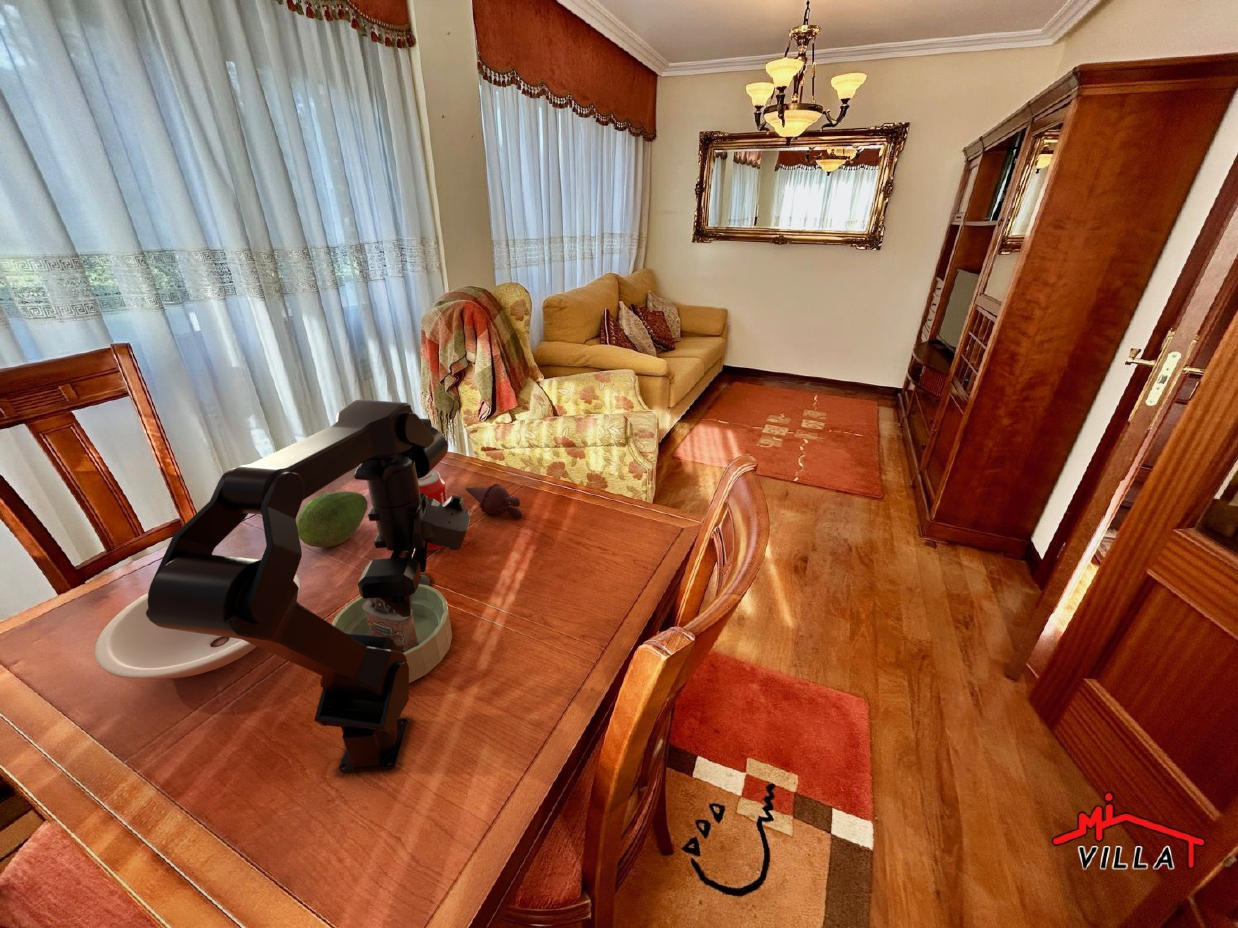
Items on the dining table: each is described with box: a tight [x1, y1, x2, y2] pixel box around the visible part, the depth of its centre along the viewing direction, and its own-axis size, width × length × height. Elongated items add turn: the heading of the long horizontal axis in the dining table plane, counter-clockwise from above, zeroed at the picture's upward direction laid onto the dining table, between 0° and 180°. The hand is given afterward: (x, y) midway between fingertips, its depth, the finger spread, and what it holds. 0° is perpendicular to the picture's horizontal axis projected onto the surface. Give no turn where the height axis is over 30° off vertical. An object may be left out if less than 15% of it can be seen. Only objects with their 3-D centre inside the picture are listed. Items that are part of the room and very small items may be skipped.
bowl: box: [331, 584, 453, 684], centre depth 76 cm, size 16×16×6 cm
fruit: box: [296, 490, 369, 549], centre depth 100 cm, size 15×10×10 cm, turn 163°
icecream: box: [465, 483, 523, 519], centre depth 111 cm, size 7×7×15 cm
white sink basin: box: [94, 573, 301, 680], centre depth 75 cm, size 24×24×7 cm
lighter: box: [362, 598, 419, 653], centre depth 74 cm, size 8×3×10 cm, turn 72°
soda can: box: [418, 469, 448, 551], centre depth 98 cm, size 8×8×15 cm
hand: (414, 592), depth 70 cm, fingers open, 9 cm apart
